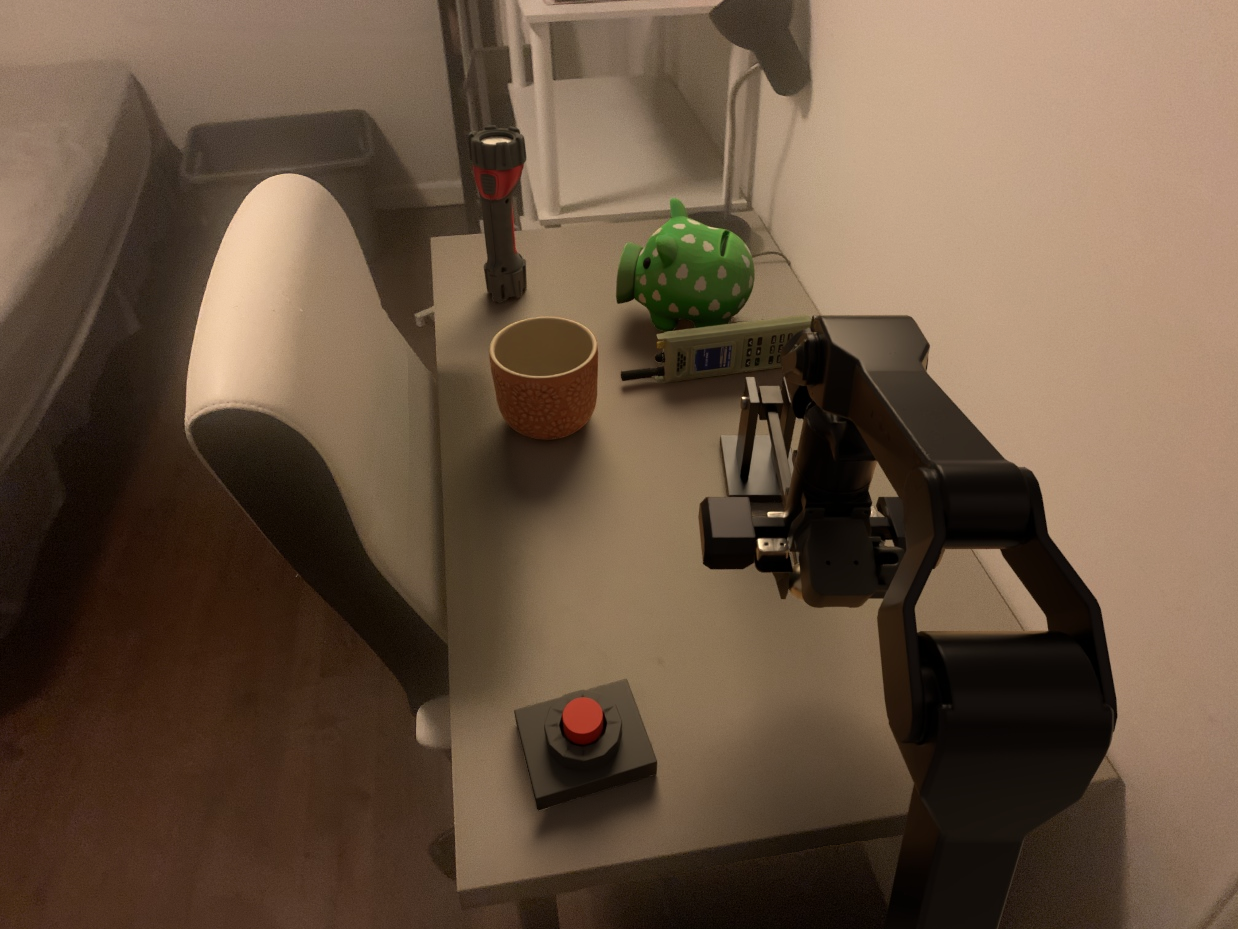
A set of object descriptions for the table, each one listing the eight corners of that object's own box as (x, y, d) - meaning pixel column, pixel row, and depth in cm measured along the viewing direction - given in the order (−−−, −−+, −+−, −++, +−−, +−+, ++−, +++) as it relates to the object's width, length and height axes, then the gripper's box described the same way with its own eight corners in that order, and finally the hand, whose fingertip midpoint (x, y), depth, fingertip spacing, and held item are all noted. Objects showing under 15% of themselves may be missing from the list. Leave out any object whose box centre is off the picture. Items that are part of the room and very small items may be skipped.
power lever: (823, 607, 69) (831, 585, 66) (786, 607, 69) (792, 585, 66) (780, 405, 87) (785, 382, 85) (751, 405, 87) (754, 382, 85)
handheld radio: (808, 368, 106) (623, 392, 102) (799, 354, 108) (618, 377, 105) (816, 324, 102) (623, 347, 98) (806, 311, 104) (618, 333, 100)
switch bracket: (800, 502, 88) (819, 420, 80) (727, 502, 88) (738, 420, 80) (786, 442, 95) (802, 361, 87) (719, 442, 95) (728, 361, 87)
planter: (606, 447, 95) (605, 372, 87) (500, 458, 93) (490, 383, 86) (592, 384, 103) (590, 311, 96) (496, 393, 102) (486, 320, 95)
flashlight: (527, 270, 125) (513, 119, 109) (543, 294, 120) (532, 139, 104) (478, 280, 123) (458, 127, 107) (493, 305, 117) (474, 148, 102)
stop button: (596, 703, 66) (596, 692, 65) (608, 738, 64) (607, 727, 63) (559, 714, 65) (558, 703, 64) (569, 749, 63) (568, 739, 62)
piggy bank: (632, 286, 121) (633, 190, 111) (752, 299, 118) (765, 202, 108) (612, 339, 111) (611, 239, 101) (743, 354, 108) (756, 253, 98)
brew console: (626, 691, 71) (626, 666, 68) (656, 774, 65) (658, 751, 63) (515, 723, 69) (511, 698, 66) (537, 811, 63) (533, 788, 61)
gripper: (718, 548, 54) (701, 676, 64) (997, 548, 54) (934, 676, 64) (704, 438, 62) (692, 568, 72) (947, 438, 62) (899, 567, 72)
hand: (801, 595), depth 70 cm, fingers closed on power lever, 3 cm apart
